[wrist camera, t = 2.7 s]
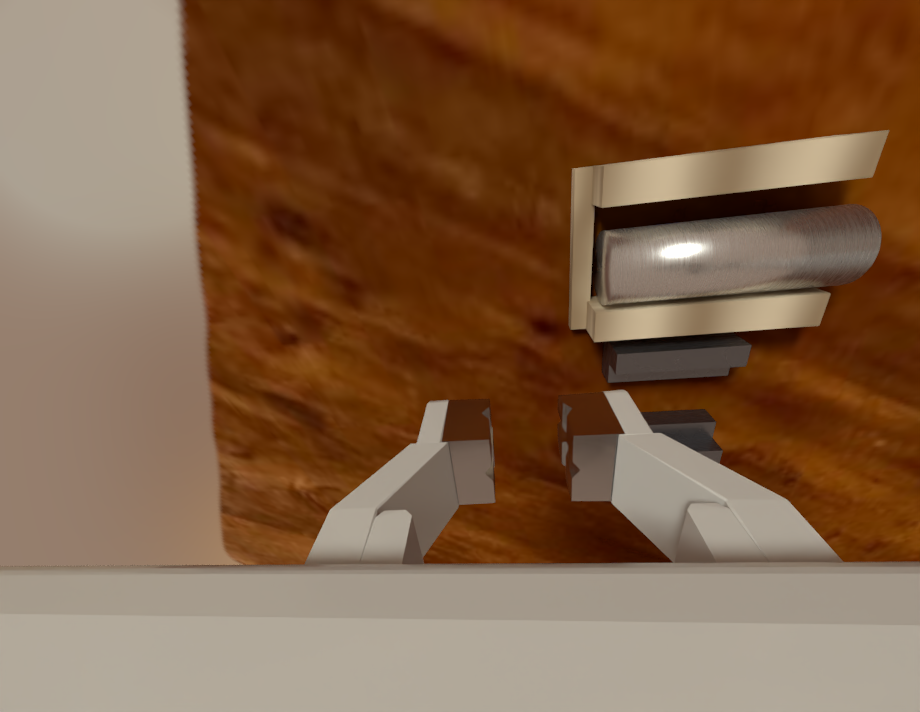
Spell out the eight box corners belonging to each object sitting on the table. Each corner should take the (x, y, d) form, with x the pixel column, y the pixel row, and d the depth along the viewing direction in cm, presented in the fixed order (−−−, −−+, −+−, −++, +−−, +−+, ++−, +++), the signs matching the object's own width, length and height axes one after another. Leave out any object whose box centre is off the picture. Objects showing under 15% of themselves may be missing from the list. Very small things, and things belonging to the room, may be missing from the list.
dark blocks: (723, 326, 25) (751, 345, 22) (697, 439, 30) (718, 466, 27) (604, 335, 26) (617, 354, 23) (596, 443, 30) (606, 469, 28)
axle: (835, 191, 21) (900, 224, 17) (796, 261, 24) (846, 300, 20) (598, 218, 22) (618, 253, 19) (590, 280, 25) (606, 319, 22)
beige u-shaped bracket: (835, 135, 20) (889, 130, 17) (782, 308, 24) (819, 325, 22) (572, 168, 21) (584, 168, 19) (568, 325, 26) (578, 343, 23)
